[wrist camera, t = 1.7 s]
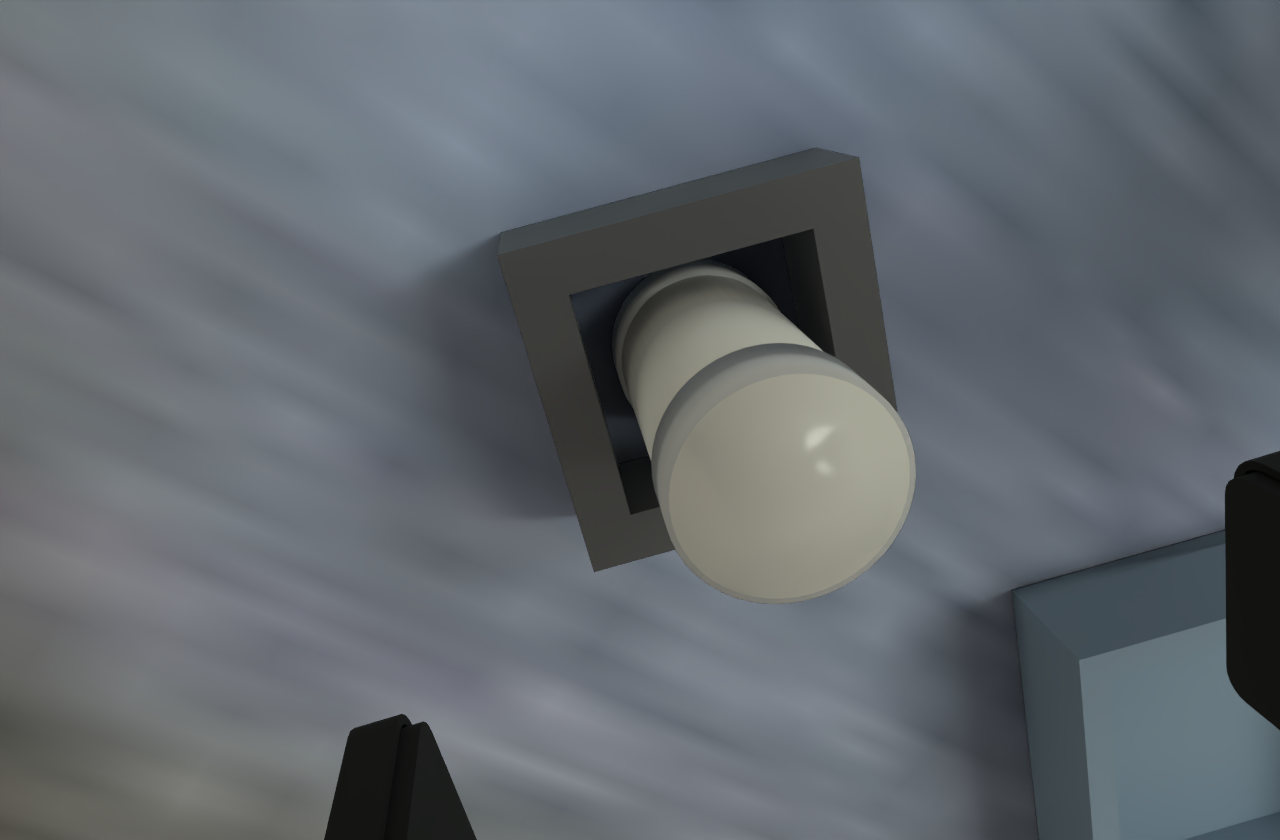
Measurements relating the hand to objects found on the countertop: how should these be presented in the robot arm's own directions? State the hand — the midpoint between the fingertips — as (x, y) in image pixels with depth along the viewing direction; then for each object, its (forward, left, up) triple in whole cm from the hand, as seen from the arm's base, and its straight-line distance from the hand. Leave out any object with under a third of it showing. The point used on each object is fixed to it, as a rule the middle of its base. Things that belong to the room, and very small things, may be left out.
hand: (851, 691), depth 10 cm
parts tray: (-14, +16, -14) cm, 25 cm away
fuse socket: (-1, 0, -14) cm, 14 cm away
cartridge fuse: (-1, 0, -14) cm, 14 cm away
